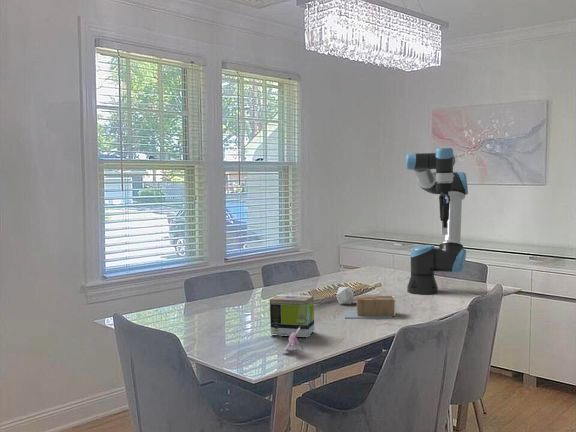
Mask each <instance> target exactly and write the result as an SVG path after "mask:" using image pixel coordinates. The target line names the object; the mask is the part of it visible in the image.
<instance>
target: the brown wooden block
mask: <svg viewBox="0 0 576 432" xmlns="http://www.w3.org/2000/svg"><path fill="white" fill-rule="evenodd" d="M356 310H357V315H358V316H392V317H393V316H394V317H395V316H396V298H395V296H394V295H357V296H356Z"/></svg>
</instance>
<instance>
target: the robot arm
mask: <svg viewBox="0 0 576 432" xmlns="http://www.w3.org/2000/svg"><path fill="white" fill-rule="evenodd" d="M455 164H456V158H455V155H454V149H453V148H452V147H437V148H436V150H435V152H431V153H429V152H428V153H427V152H426V153H425V152H424V153H421V152H418V153H417V152H414V153H413V152H412V153H408V154H406V158H405V166H406V169H407V170H409V171H410V170H411V171H414V173H415V175H416V177H417V184H418V186H419V187H420V188H421V189H422V190H423V191H425V192H427V193H430V194H433V195H439V196H438V201H439V218H440V235H441V236H442V242H441V243H439V246H438V247H435V245H434V244H424V245H418V246H414V247H412V248H411V250H410V255H409V257H410V278H409V280H408V284H407V288H406V289H407V292H408V293H410V294H414V295H433V294H437V293H438V292H439V287H438V285H437V284H438V283H437V281H436V280H437V279H436V278H435V272H440V273H441V272H442V273H462V272H463V270H464V269H465V264H466V259H467V258H466V256H467V249H465V248H464V245H463V244H462V243H461V236H462V235H461V231H462V207H463V206H462V204H463V203H462V202H463V200H465V198H466V196H467V195H469V191H468V190H469V189H468V181H467V174H466V172H464V171H463V172H461V171H460V172H459V171H454V166H455ZM432 170H435V172H433V171H432Z"/></svg>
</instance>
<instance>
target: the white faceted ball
mask: <svg viewBox="0 0 576 432" xmlns="http://www.w3.org/2000/svg"><path fill="white" fill-rule="evenodd" d="M336 294H337V295H335V298H336V297H337V298H336V300H337V301H338V304H339V305H351V304H352V302H353V300H354V296H355V294H354V292H353V290H352V288H351V286H339V287H338V290H337V292H336Z"/></svg>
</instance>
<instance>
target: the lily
mask: <svg viewBox="0 0 576 432" xmlns="http://www.w3.org/2000/svg"><path fill="white" fill-rule="evenodd" d="M299 329H300V327H299V328H298V329H297V331H296V333H294V332H293V333H292V334H291V335H290V337H287V339H288V343H287V345H286V346H285V348H284V350H283V352H284V353H285V352H286V351H287V349H288V347H291V346H294V345H299V346H300V347H301V349H302V350H303V349H304V348H303V346H302V344H300V343H299V340H298V338H297V332H298V331H299Z"/></svg>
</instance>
